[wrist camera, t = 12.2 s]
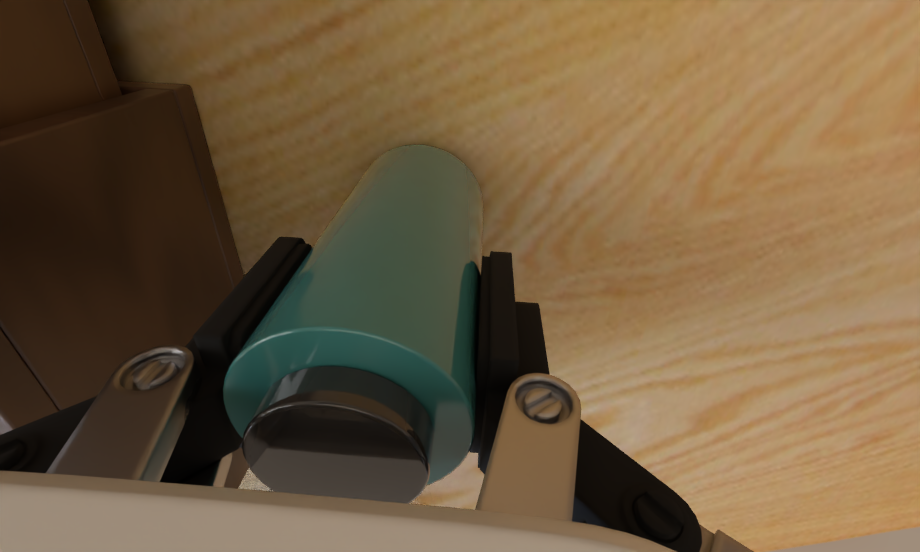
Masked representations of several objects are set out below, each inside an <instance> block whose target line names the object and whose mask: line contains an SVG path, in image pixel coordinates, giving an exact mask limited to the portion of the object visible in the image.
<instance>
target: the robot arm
mask: <svg viewBox="0 0 920 552" xmlns="http://www.w3.org/2000/svg"><path fill="white" fill-rule="evenodd" d="M311 249H312V247H311V245H310V244H305V241H304V239H302V238H292V237H279V238H278V239H277V240H276V241H275V242H274V243H273V245H272V246H271V247H270V248H269V249H268V250H267V252H266V253H265V254H264V255H263V256H262V257H261V258H260V260H259V261H258V262H257V263H256V264H255V265H254V266H253V268H252V269H251V270H250V271H249V272H248V273H247V274H246V276H245V277H244V278H243V279H242V280H241V281H240V282H239V284H238V285H237V286H236V287H235V288H234V289H233V290H232V292H231V293H230V294H229V295H228V296H227V297H226V298H225V300H224V301H223V302H222V303H221V304H220V305H219V306H218V308H217V309H216V310H215V311H214V312H213V313H212V314H211V316H210V317H209V318H208V319H207V320H206V321H205V322H204V324H203V325H202V326H201V327H200V328H199V329H198V330H197V332H196V333H195V334H194V335H193V338H192V339H191V341H190V342H189V343H188V344H187V345H186V346H185V347H182V346H179V345H163V346H157V347H153V348H150V349H147V350H144V351H141V352H139V353H137V354H135V355H133V356H131V357H130V358H128V359H127V360H126V361H124V362H123V363H122V364H120V365H119V366H118V368H117V369H116V370H115V371H114V372H113V373H112V375H111V376H110V378H109V379H108V381H107V382H106V384H105V385H104V387H103V388H102V390H101V391H100V393H99V394H98V396H95V397H93V398H90V399H88V400H85V401H83V402H80V403H78V404H75V405H73V406H70V407H68V408H65V409H63V410H61V411H58V412H56V413H53V414H51V415H48V416H46V417H43V418H41V419H38V420H36V421H33V422H31V423H28V424H26V425H23V426H21V427H18V428H16V429H13V430H11V431H8V432H6V433H4V434H1V435H0V552H753V551H752V550H750V549H748V548H747V547H745V546H744V545H742V544H741V543H739V542H737V541H736V540H734V539H733V538H731V537H729V536H728V535H726V534H725V533H723V532H721V531H720V530H717V531H716V533H715V534H713V533H712V532H710V531H709V530H707V529H705V528H704V527H702V526H701V525H699V523H698V520H697V518H696V515H695V514H694V513H693V511H692V510H691V508H690V507H689V505H688V504H687V503H686V502H685V501H684V500H683V499H682V498H681V497H680V496H679V495H678V494H677V493H676V492H674V491H673V490H672V489H670V488H669V487H668V486H667V485H665V484H664V483H663V482H661V481H660V480H659V479H657V478H656V477H655V476H654V475H652V474H651V473H650V472H648V471H647V470H646V469H644V468H643V467H642V466H641V465H639V464H638V463H637V462H635V461H634V460H633V459H632V458H630V457H629V456H628V455H626V454H625V453H624V452H622V451H621V450H620V449H619V448H617V447H616V446H615V445H613V444H612V443H611V442H609V441H608V440H607V439H606V438H604V437H603V436H602V435H600V434H599V433H598V432H597V431H595V430H594V429H593V428H591V427H590V426H589V425H587V424H586V423H585V422H584V421H582V420H581V419H580V418H581V404H580V400H579V398H578V396H577V394H576V392H575V391H574V390H573V389H572V388H571V387H570V385H569V384H567V383H566V382H564V381H563V380H561V379H559V378H557V377H554V376H552V375H549V368H548V361H547V355H546V348H545V341H544V335H543V328H542V321H541V315H540V308H539V304H538V303H527V302H515V294H514V280H513V266H512V254H511V253H507V252H493V251H491V253H490V257H487V256H482V265H481V278H480V302H479V327H478V351H477V376H476V387H477V398H476V425H475V437H474V440H473V444H472V447H471V449H470V452H474V453H478V468H480V470H481V471H482V472H483V473H484V474H485V476H484V480H483V483H482V487H481V490H480V494H479V498H478V501H477V505H476V509H475V510H471V509H460V508H450V507H439V506H428V505H417V504H406V503H395V502H384V501H373V500H362V499H351V498H340V497H329V496H317V495H306V494H294V493H283V492H271V491H260V490H248V489H236V488H224V484H225V481H226V477H227V474H228V471H229V467H230V464H231V460H232V452H234V451H236V450H238V448H242V438H241V437H240V436H239V434H238V433H237V432H236V430H235V429H234V427H233V425H232V424H231V422H230V420H229V418H228V415H227V413H226V410H225V406H224V401H223V385H224V380H225V375H226V373H227V371H228V368H229V366H230V364H231V363H232V362H233V360H234V359H235V357H236V356H237V354H238V353H239V352H240V350H241V349H242V347H243V346H244V345H245V343H246V342H247V340H248V339H249V337H250V336H251V335H252V333H253V332H254V330H255V329H256V327H257V326H258V325H259V323H260V322H261V320H262V319H263V317H264V316H265V315H266V313H267V312H268V310H269V309H270V307H271V306H272V305H273V303H274V302H275V300H276V299H277V298H278V296H279V295H280V293H281V292H282V290H283V289H284V288H285V286H286V285H287V283H288V282H289V280H290V279H291V278H292V276H293V275H294V273H295V272H296V270H297V269H298V268H299V266H300V265H301V263H302V262H303V260H304V259H305V258H306V256H307V255H308V253H309V252H310V251H311Z"/></svg>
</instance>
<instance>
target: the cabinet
mask: <svg viewBox="0 0 920 552" xmlns="http://www.w3.org/2000/svg"><path fill="white" fill-rule="evenodd" d="M117 83H118V85H119V88H120V91H121V94H122V96H118V97H115V98H111V99H107V100H104V101H100V102H96V103H93V104H89V105H86V106H82V107H78V108H75V109H71V110H67V111H64V112H60V113H56V114H53V115H49V116H46V117H42V118H38V119H35V120H31V121H27V122H24V123H20V124H16V125H13V126H9V127H6V128H2V129H0V435H1V434H4V433H6V432H8V431H11V430H13V429H16V428H18V427H21V426H23V425H26V424H28V423H31V422H33V421H36V420H38V419H41V418H43V417H46V416H48V415H51V414H53V413H56V412H58V411H61V410H63V409H65V408H68V407H70V406H73V405H75V404H78V403H80V402H83V401H85V400H88V399H90V398H93V397H95V396H98V394H99V393H100V391H101V390H102V388H103V387H104V385H105V384H106V382H107V381H108V379H109V378H110V376H111V375H112V373H113V372H114V371H115V370H116V369H117V368H118V366H119V365H120V364H122V363H123V362H124V361H126V360H127V359H128V358H130V357H131V356H133V355H135V354H137V353H139V352H141V351H144V350H147V349H150V348H153V347H157V346H163V345H179V346H182V347H185V346H186V345H187V344H188V343H189V342H190V341H191V339H192V338H193V335H194V334H195V333H196V332H197V330H198V329H199V328H200V327H201V326H202V325H203V324H204V322H205V321H206V320H207V319H208V318H209V317H210V316H211V314H212V313H213V312H214V311H215V310H216V309H217V308H218V306H219V305H220V304H221V303H222V302H223V301H224V300H225V298H226V297H227V296H228V295H229V294H230V293H231V292H232V290H233V289H234V288H235V287H236V286H237V285H238V284H239V282H240V281H241V280H242V279H243V278H244V276H243V273H242V269H241V266H240V262H239V258H238V255H237V251H236V248H235V244H234V241H233V237H232V233H231V230H230V226H229V223H228V219H227V216H226V212H225V208H224V205H223V201H222V198H221V194H220V191H219V187H218V183H217V180H216V176H215V173H214V169H213V166H212V162H211V158H210V155H209V151H208V148H207V144H206V141H205V137H204V133H203V130H202V126H201V123H200V119H199V116H198V112H197V108H196V105H195V101H194V98H193V94H192V91H191V87H190V86H188V85H180V84H164V83H147V82H130V81H117ZM248 468H249V466H248V464H247V463H246V460H245V458H244V455H243V450H242V448H238V450H236V451H234V452H232V460H231V464H230V467H229V471H228V474H227V477H226V481H225V484H224V488H236V489H238V487H239V485H240V483H241V481H242V479H243V478H244V476H245V474H246V472H247V470H248Z"/></svg>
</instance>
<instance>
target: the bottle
mask: <svg viewBox="0 0 920 552" xmlns="http://www.w3.org/2000/svg"><path fill="white" fill-rule="evenodd" d="M483 208H484V206H483V197H482V193H481V189H480V187H479V184H478V182H477V180H476V178H475V176H474V175H473V174H472V172H471V171H470V170H469V168H468V167H467V166H466V165H465V164H464V163H463V162H461V161H460V160H459V159H458V158H457V157H455V156H453V155H452V154H450V153H448V152H446V151H444V150H442V149H439V148H436V147H432V146H427V145H405V146H401V147H397V148H394V149H392V150H389V151H388V152H386V153H384V154H382V155H381V156H380V157H378V158H377V159H376V160H375V161H374V162H373V163H372V164H371V165H370V167H369V168H368V169H367V171H366V172H365V174H364V175H363V176H362V178H361V179H360V181H359V182H358V184H357V185H356V186H355V188H354V189H353V191H352V192H351V194H350V195H349V196H348V198H347V199H346V201H345V202H344V204H343V205H342V206H341V208H340V209H339V211H338V212H337V213H336V215H335V216H334V218H333V219H332V221H331V222H330V223H329V225H328V226H327V228H326V229H325V231H324V232H323V233H322V235H321V236H320V238H319V239H318V241H317V242H316V243H315V245H314V246H313V248H312V249H311V251H310V252H309V253H308V255H307V256H306V258H305V259H304V260H303V262H302V263H301V265H300V266H299V268H298V269H297V270H296V272H295V273H294V275H293V276H292V278H291V279H290V280H289V282H288V283H287V285H286V286H285V288H284V289H283V290H282V292H281V293H280V295H279V296H278V298H277V299H276V300H275V302H274V303H273V305H272V306H271V307H270V309H269V310H268V312H267V313H266V315H265V316H264V317H263V319H262V320H261V322H260V323H259V325H258V326H257V327H256V329H255V330H254V332H253V333H252V335H251V336H250V337H249V339H248V340H247V342H246V343H245V345H244V346H243V347H242V349H241V350H240V352H239V353H238V354H237V356H236V357H235V359H234V360H233V362H232V363H231V364H230V366H229V368H228V371H227V373H226V375H225V380H224V385H223V401H224V406H225V410H226V413H227V415H228V418H229V420H230V422H231V424H232V425H233V427H234V429H235V430H236V432H237V433H238V434H239V436H240V437H241V438H242V450H243V455H244V458H245V460H246V463H247V464H248V466H249V468H250V469H251V471H252V472H253V473H254V474H255V475H256V477H257V478H258V479H259V480H260V481H262V482H263V483H264V484H265V485H266V486H268V487H269V488H270V489H271V490H273V491H275V492H283V493H294V494H306V495H317V496H329V497H340V498H351V499H362V500H373V501H384V502H395V503H406V504H409V503H410V502H412V501H413V500H415V499H416V498H417V497H418V496H419V495H420V494H421V492H422V491H423V490H424V488H425V486H427V485H430V484H432V483H434V482H436V481H438V480H440V479H442V478H444V477H445V476H447V475H448V474H450V473H451V472H453V471H454V470H455V469H456V468H457V467H458V466H459V465H460V464H461V463H462V461H463V460H464V459H465V458H466V456H467V454H468V452H469V450H470V449H471V447H472V444H473V440H474V437H475V425H476V398H477V387H476V376H477V351H478V327H479V302H480V278H481V263H482V235H483Z"/></svg>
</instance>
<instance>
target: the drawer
mask: <svg viewBox="0 0 920 552" xmlns="http://www.w3.org/2000/svg"><path fill="white" fill-rule="evenodd" d="M118 96H122V94H121V91H120V88H119V85H118V83H117V80H116V77H115V74H114V72H113V69H112V66H111V63H110V61H109V58H108V55H107V53H106V50H105V47H104V44H103V42H102V39H101V36H100V33H99V31H98V28H97V25H96V22H95V20H94V17H93V14H92V11H91V9H90V6H89V3H88V0H0V129H2V128H6V127H9V126H13V125H16V124H20V123H24V122H27V121H31V120H35V119H38V118H42V117H46V116H49V115H53V114H56V113H60V112H64V111H67V110H71V109H75V108H78V107H82V106H86V105H89V104H93V103H96V102H100V101H104V100H107V99H111V98H115V97H118Z"/></svg>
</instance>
